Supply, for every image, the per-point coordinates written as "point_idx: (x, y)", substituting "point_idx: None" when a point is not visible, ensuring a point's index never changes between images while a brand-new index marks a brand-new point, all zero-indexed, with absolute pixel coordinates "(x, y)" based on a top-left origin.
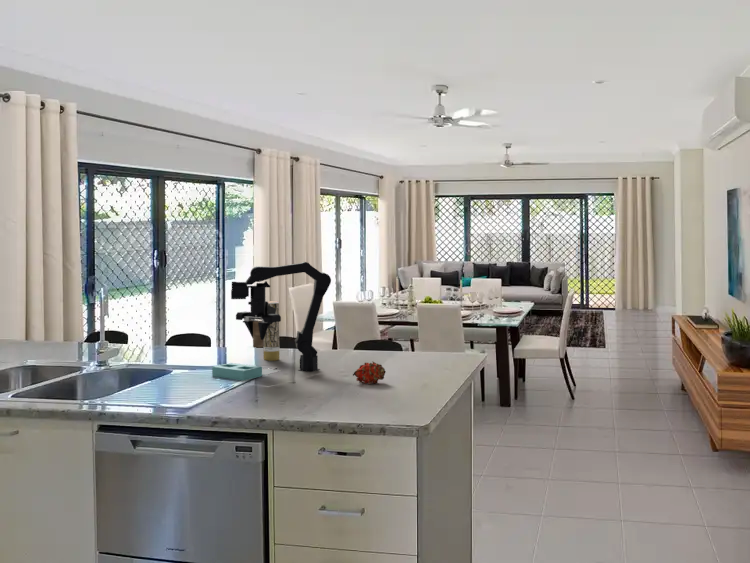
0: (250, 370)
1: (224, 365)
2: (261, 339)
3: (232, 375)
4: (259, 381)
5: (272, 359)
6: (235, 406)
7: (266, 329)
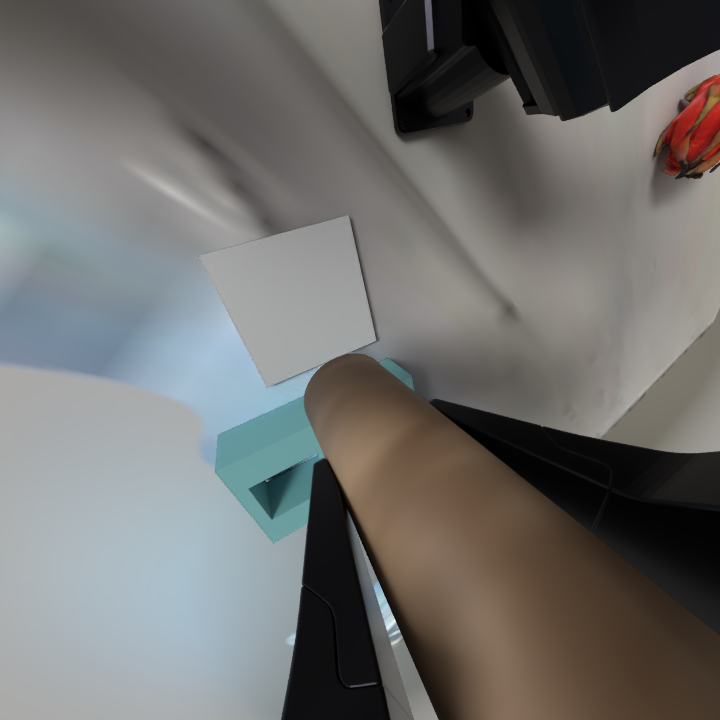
0: None
1: (258, 499)
2: None
3: None
4: (431, 389)
5: None
6: None
7: (578, 447)
